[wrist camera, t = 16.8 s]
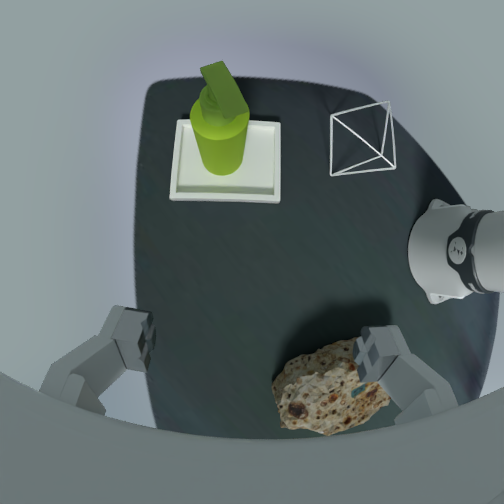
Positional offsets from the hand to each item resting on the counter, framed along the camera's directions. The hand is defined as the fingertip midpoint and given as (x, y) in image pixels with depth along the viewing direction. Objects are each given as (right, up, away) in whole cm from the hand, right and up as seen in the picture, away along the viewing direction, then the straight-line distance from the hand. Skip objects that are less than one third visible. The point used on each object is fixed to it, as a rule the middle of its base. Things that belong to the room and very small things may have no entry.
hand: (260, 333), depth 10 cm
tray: (-4, +16, +28) cm, 33 cm away
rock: (+13, -18, +30) cm, 37 cm away
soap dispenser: (-4, +16, +28) cm, 32 cm away
